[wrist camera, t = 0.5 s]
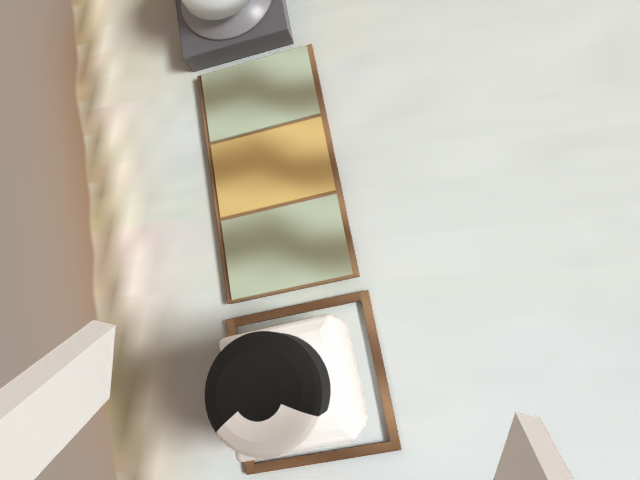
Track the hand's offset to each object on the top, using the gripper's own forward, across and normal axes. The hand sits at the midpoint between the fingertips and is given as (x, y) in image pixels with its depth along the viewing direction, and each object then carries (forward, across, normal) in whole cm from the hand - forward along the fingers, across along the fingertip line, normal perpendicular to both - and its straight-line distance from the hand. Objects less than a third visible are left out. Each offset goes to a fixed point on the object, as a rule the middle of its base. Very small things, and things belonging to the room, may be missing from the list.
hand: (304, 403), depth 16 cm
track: (+25, +6, -4) cm, 26 cm away
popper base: (+32, +13, -15) cm, 38 cm away
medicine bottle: (+18, 0, +10) cm, 20 cm away
